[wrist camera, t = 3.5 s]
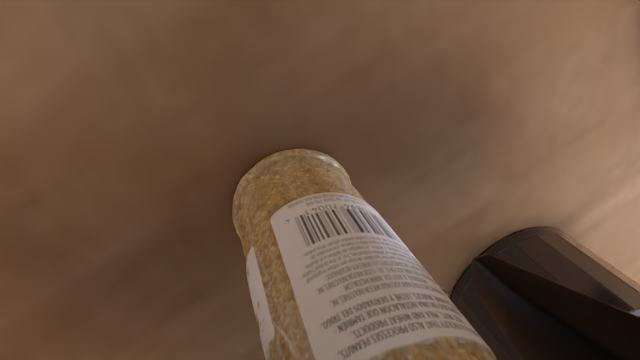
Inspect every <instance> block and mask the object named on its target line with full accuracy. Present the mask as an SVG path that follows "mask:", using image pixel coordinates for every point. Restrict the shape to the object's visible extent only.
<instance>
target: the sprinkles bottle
mask: <svg viewBox="0 0 640 360" xmlns="http://www.w3.org/2000/svg"><path fill="white" fill-rule="evenodd" d="M232 219H233V224H234V227H235V229H236V232H237V234H238V235H239V237H240V239H241V243H242V246H243V252H244V256H245V259H246V272H247V280H248V285H249V290H250V294H251V299H252V303H253V308H254V312H255V316H256V320H257V324H258V329H259V334H260V338H261V343H262V347H263V351H264V355H265V359H266V360H497V359H496V357H495V355H494V354H493V352H492V350H491V349H490V348H489V347H488V345H487V344H486V343H485V342H484V341H483V339H482V338H481V337H480V336H479V334H478V333H477V332H476V331H475V330H474V328H473V327H472V326H471V325H470V323H469V322H468V321H467V320H466V319H465V317H464V316H463V315H462V314H461V312H460V311H459V310H458V309H457V307H456V306H455V305H454V304H453V303H452V301H451V300H450V299H449V298H448V296H447V295H446V294H445V293H444V292H443V290H442V289H441V288H440V287H439V285H438V284H437V283H436V282H435V281H434V279H433V278H432V277H431V276H430V275H429V273H428V272H427V271H426V270H425V268H424V267H423V266H422V265H421V264H420V262H419V261H418V260H417V259H416V258H415V256H414V255H413V254H412V253H411V252H410V250H409V249H408V248H407V247H406V245H405V244H404V243H403V242H402V241H401V239H400V238H399V237H398V236H397V235H396V233H395V232H394V231H393V230H392V229H391V228H390V226H389V225H388V224H387V223H386V222H385V220H384V219H383V218H382V217H381V216H380V214H379V213H378V212H377V211H376V210H375V209H374V208H373V207H372V206H370V205H369V204H368V203H366V202H365V200H364V199H363V197H362V196H361V195H360V194H359V192H358V191H357V190H356V188H354V187H353V186H352V185H351V181H350V178H349V176H348V174H347V172H346V171H345V170H344V168H343V167H342V166H341V165H340V164H339V163H338V162H337V161H336V160H335V159H333V158H332V157H330V156H329V155H327V154H324V153H321V152H319V151H316V150H306V149H303V148H301V149H291V150H284V151H280V152H276V153H274V154H272V155H270V156H268V157H266V158H264V159H263V160H261V161H260V162H258V163H257V164H256V165H255V166H254V167H253V168H251V169H250V170H249V171H248V172H247V173H246V174H245V175H244V176H243V177H242V179H241V180H240V182H239V184H238V186H237V189H236V191H235V194H234V198H233V208H232Z"/></svg>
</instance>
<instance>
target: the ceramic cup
mask: <svg viewBox="0 0 640 360" xmlns="http://www.w3.org/2000/svg"><path fill="white" fill-rule="evenodd" d="M484 254H491V255H493V256H496V257H498V258H500V259H503V260H505V261H507V262H510V263H512V264H515V265H517V266H519V267H522V268H524V269H527V270H529V271H531V272H534V273H536V274H538V275H541V276H543V277H546V278H548V279H550V280H553V281H555V282H557V283H560V284H562V285H565V286H567V287H569V288H572V289H574V290H576V291H579V292H581V293H584V294H586V295H588V296H591V297H593V298H596V299H598V300H600V301H603V302H605V303H607V304H610V305H612V306H615V307H617V308H619V309H622V310H624V311H626V312H629V313H631V314H634V315H636V316H638V317H640V285H639V284H638V283H636V282H635V281H633V280H632V279H631V278H629V277H628V276H626V275H625V274H623V273H622V272H620V271H619V270H618V269H616V268H615V267H613V266H612V265H610V264H609V263H607V262H606V261H605V260H603V259H602V258H600V257H599V256H597V255H596V254H594V253H593V252H592V251H590V250H589V249H587V248H586V247H584V246H583V245H581V244H580V243H578V242H577V241H576V240H574V239H573V238H571V237H568V236H567V235H565V234H564V233H563V232H561V231H559V230H557V229H553V228H549V227H536V228H530V229H526V230H522V231H520V232H517V233H514V234H512V235H510V236H508V237H506V238H504V239H502V240H501V241H499V242H497V243H496V244H494V245H493V246H491V247H490V248H489V249H487V250H486V251H485V252H484V253H483V254H481V255H484ZM481 255H480V256H481ZM450 300H451V301H452V303H453V304H454V305H455V306H456V307H457V309H458V310H459V311H460V312H461V314H462V315H463V316H464V317H465V319H466V320H467V321H468V322H469V323H470V325H471V326H472V327H473V328H474V330H475V331H476V332H477V333H478V334H479V336H480V337H481V338H482V339H483V341H484V342H485V343H486V344H487V345H488V347H489V348H490V349H491V350H492V352H493V354H494V355H495V357H496V359H497V360H523V359H522V358H521V356H520V355H519V354H518V353H517V351H516V350H515V349H514V348H513V346H512V345H511V344H510V342H509V341H508V339H507V338H506V337H505V335H504V334H503V332H502V331H501V329H500V328H499V326H498V325H497V323H496V321H495V320H494V318H493V317H492V315H491V314H490V312H489V311H488V309H487V308H486V306H485V305H484V303H483V302H482V300H481V299H480V297H479V296H478V294H477V293H476V291H475V289H474V287H473V285H472V264H471V265H470V267H469V268H468V269H467V270H466V271H465V273H464V274H463V275H462V277H461V278H460V280H459V282H458V283H457V285H456V287H455V289H454V291H453V293H452V296H451V299H450Z"/></svg>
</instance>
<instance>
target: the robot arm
mask: <svg viewBox="0 0 640 360" xmlns="http://www.w3.org/2000/svg"><path fill="white" fill-rule="evenodd" d="M472 285H473V287H474V289H475V291H476V293H477V294H478V296H479V297H480V299H481V300H482V302H483V303H484V305H485V306H486V308H487V309H488V311H489V312H490V314H491V315H492V317H493V318H494V320H495V321H496V323H497V325H498V326H499V328H500V329H501V331H502V332H503V334H504V335H505V337H506V338H507V339H508V341H509V342H510V344H511V345H512V346H513V348H514V349H515V350H516V351H517V353H518V354H519V355H520V356H521V358H522V359H523V360H640V317H638V316H636V315H634V314H631V313H629V312H626V311H624V310H622V309H619V308H617V307H615V306H612V305H610V304H607V303H605V302H603V301H600V300H598V299H596V298H593V297H591V296H588V295H586V294H584V293H581V292H579V291H576V290H574V289H572V288H569V287H567V286H565V285H562V284H560V283H557V282H555V281H553V280H550V279H548V278H546V277H543V276H541V275H538V274H536V273H534V272H531V271H529V270H527V269H524V268H522V267H519V266H517V265H515V264H512V263H510V262H507V261H505V260H503V259H500V258H498V257H496V256H493V255H491V254H484V255H481V256H479V257H476V258H474V259H473V260H472Z"/></svg>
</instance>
